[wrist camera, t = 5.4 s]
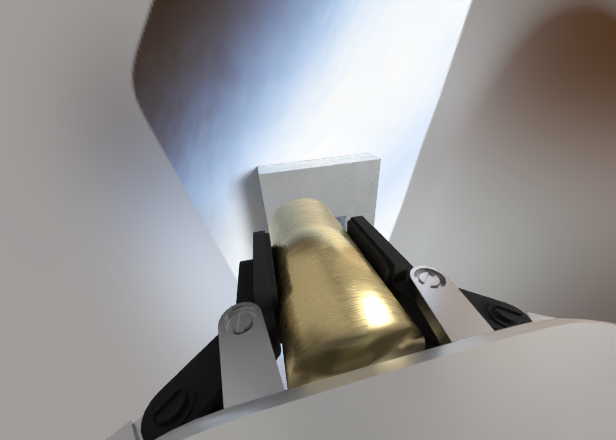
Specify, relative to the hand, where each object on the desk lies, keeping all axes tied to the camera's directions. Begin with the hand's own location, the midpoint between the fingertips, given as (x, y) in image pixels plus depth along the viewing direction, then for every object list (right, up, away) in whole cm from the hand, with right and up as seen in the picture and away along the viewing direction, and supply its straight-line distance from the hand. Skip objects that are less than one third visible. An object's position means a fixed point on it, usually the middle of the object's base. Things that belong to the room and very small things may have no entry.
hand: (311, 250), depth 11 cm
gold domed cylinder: (-1, +1, +2) cm, 2 cm away
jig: (+1, +1, +18) cm, 18 cm away
